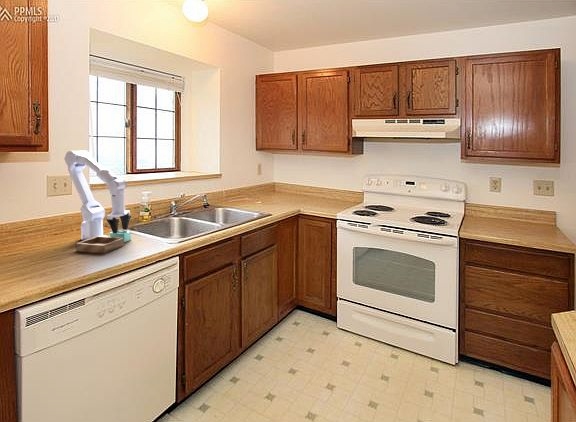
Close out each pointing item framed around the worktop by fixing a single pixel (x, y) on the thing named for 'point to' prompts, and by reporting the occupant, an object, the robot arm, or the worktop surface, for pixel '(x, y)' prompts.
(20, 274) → the worktop surface
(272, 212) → the worktop surface
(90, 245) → the tray
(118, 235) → the teal crate
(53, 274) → the worktop surface
